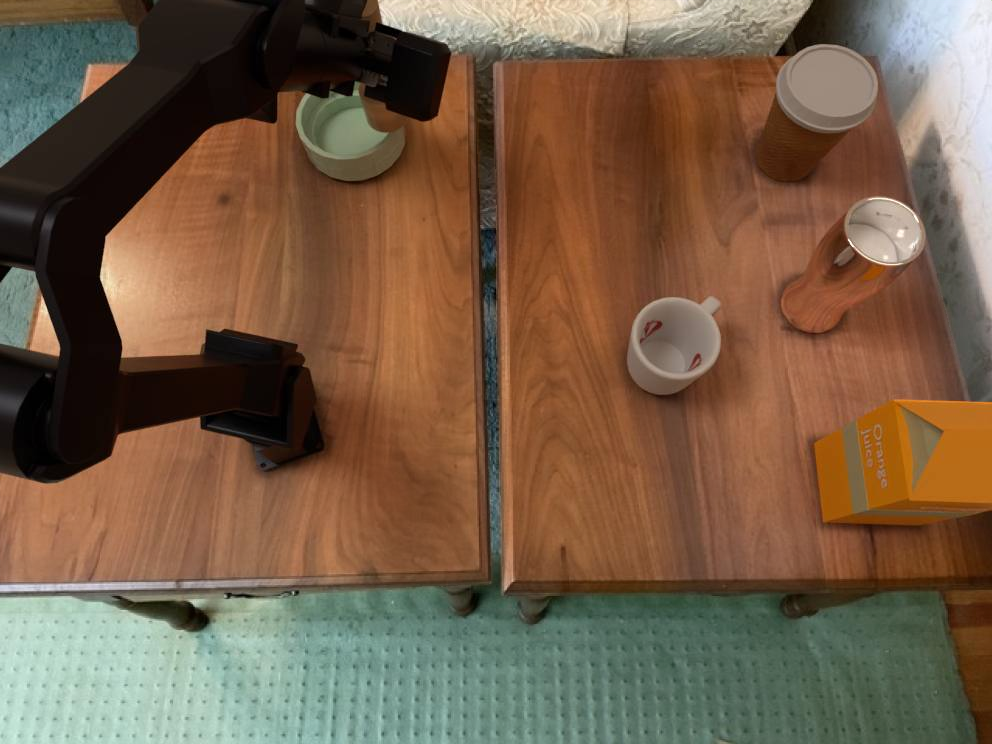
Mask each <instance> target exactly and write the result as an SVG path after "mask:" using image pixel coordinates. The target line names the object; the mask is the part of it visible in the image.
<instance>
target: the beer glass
mask: <svg viewBox="0 0 992 744" xmlns="http://www.w3.org/2000/svg"><path fill="white" fill-rule="evenodd" d="M926 235H927V234H926V228H925V226H924V223H923V221H922V219H921V218H920V217H919V215H918V214H917V213H916V212H915V211H914V210H913V208H912V207H910V206H909V205H908V204H906V203H904V202H902V201H900V200H898V199H896V198H892V197H889V196H883V195H882V196H881V195H880V196H879V195H875V196H868V197H865V198H861V199H860V200H858V201H856V202H855V203H854V204H853V205H852V206H850V208H849V209H848V210H846V212H845V213H844V214H842V215H841V217H840V218H839V219H838V220H837V221H835V223H833V225H832V226H831V227H829V229H828V230H827V231H826V232H825V234H824V235H823V236H822V238H821V239H820V240H819V242H818V243H817V245H816V247H815V249H814V251H813V252H812V254H811V257H810V259H809V261H808V263H807V266H806V268H805V270H804V272H803V274H802V275H801V276H800V277H798V278H797V279H796V280H794V281H792V282H790V283H789V284H788V285H787V286H786V287H785V289H784V290H783V291H782V294H781V299H780V308H781V311H782V313H783V316H784V317H785V319H786V320H787V321H788V322H789V323H790V325H792V326H793V327H794V328H796V329H798V330H800V331H803V332H805V333H810V334H820V333H825V332H827V331H829V330H831V329H833V328H834V327H835V326H836V325H837V324H838V323H839V321H840V320H841V318H842V316H843V314H844V313H845V312H846V311H847V310H848V309H850V308H852V307H854V306H856V305H857V304H860V303H862V302H864V301H866V300H867V299H869V298H872V297H874V296H875V295H877V294H879V293H881V291H883V290H884V289H885V288H887V287H888V286H889V285H891V283H892V284H893V282H894V281H895V280H896V279H897V278H898V277H899V276H900V275H902V274H903V272H904V271H905V270H906V269H907V268H908V267H909V266H910V265H911V264H912V262H913V261H915V260H916V259H917V258H918V257H919V256H920V255H921V253H922V251H923V250H924V248H925V245H926V238H927V237H926Z"/></svg>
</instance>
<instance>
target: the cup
mask: <svg viewBox="0 0 992 744" xmlns="http://www.w3.org/2000/svg"><path fill="white" fill-rule="evenodd" d="M721 308H722V301H720V300H719V298H716V297H715V296H713V295H711V296H708V297H707V298H706V299H704V300H703V301H702V302H701V303H698V302H696V301H693V300H691V299H687V298H685V297H677V296H669V297H663V298H659V299H656V300H654V301H652V302H649V303H648V304H646V305H645V307H643V308H642V309H641V310H640V311H639V312H638V314H637V315H636V317H635V318H634V321H633V323H632V326H631V330H630V335H629V336H630V337H629V341H628V342H629V343H628V347H627V353H626V354H627V355H626V365H627V369H628V373H629V375H630V377H631V379H632V380H633V381H634V383H635V384H636V385H637V387H639V388H641V389H642V390H643V391H646V392H648V393H650V394H653V395H657V396H668V395H672V394H675V393H678V392H680V391H682V390H684V389H685V388H687V387H688V386H690V385H691V384H692V383H694V382H695V381H696V380H698V379H699V378H700V377H701V376H703V375H704V374H706V373H707V372H708V371H709V370H710V369H711V368H712V367H713V366H714V364H715V363H716V362H717V360H718V357H719V355H720V352H721V348H722V347H721V346H722V336H721V331H720V328H719V326H718V323H717V321H716V319H715V318H714V317H715V316H716V314H718V312H719V311H720V309H721Z"/></svg>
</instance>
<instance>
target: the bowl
mask: <svg viewBox="0 0 992 744" xmlns="http://www.w3.org/2000/svg"><path fill="white" fill-rule="evenodd" d="M359 85H360V83H359V82H356V81H355V85H354V91H353V96H348V97H347V96H344V95H341V94H338V93H335V92H332V91H330V92H329V98H323V99H322V98H319V97H316V96H313V95H310V94H307V93H305V94H304V95H303V96H302V97H301V100H300V102H299V105H298V106H297V109H296V112H295V113H296V114H295V127H296V130H297V133H298V136H299V138H300V141H301V143H302V145H303V148H304V150H305V153H306V155H307V157H308V159H309V161H310V162H311V163H312V164H313V165H314V166H315V168H316V169H317V170H318V171H319V172H321V173H323V174H324V175H326V176H328V177H329V178H332V179H336V180H340V181H345V182H356V181H357V182H359V181H360V182H361V181H365V180H368V179H371V178H374V177H377V176H379V175H380V174H382V173H384V172H385V171H386V170H388V169H390V168H391V167H392V166H393V165H394V163H395V162H396V161H397V160H398V159H399V157H401V154H402V152H403V149H404V147H405V144H406V127H405V125H404V126H403V127H402V128H400V129H399V130H397V131H394V132H390V133H382V132H378V131H376V130H374V129H373V128H371V127H370V126H369V124H368V122H367V120H366V116H365V113H364V109H363V106H362V102H361V99H360V95H359Z"/></svg>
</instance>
